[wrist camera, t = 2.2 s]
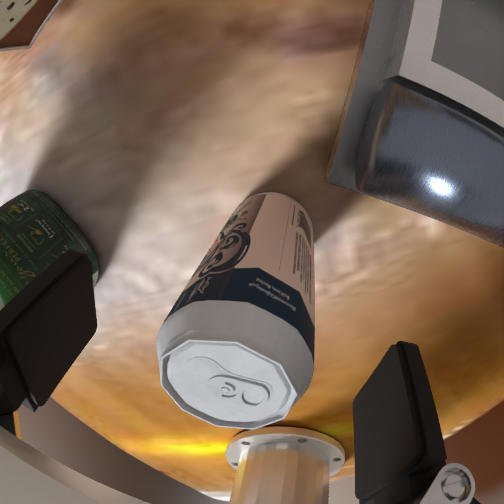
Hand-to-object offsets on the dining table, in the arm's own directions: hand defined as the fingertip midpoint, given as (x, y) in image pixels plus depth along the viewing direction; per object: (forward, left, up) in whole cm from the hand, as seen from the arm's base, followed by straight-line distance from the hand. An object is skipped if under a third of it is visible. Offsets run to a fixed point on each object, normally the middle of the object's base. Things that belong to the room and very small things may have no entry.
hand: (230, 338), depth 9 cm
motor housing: (+11, -8, -11) cm, 18 cm away
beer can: (-1, 0, -11) cm, 11 cm away
